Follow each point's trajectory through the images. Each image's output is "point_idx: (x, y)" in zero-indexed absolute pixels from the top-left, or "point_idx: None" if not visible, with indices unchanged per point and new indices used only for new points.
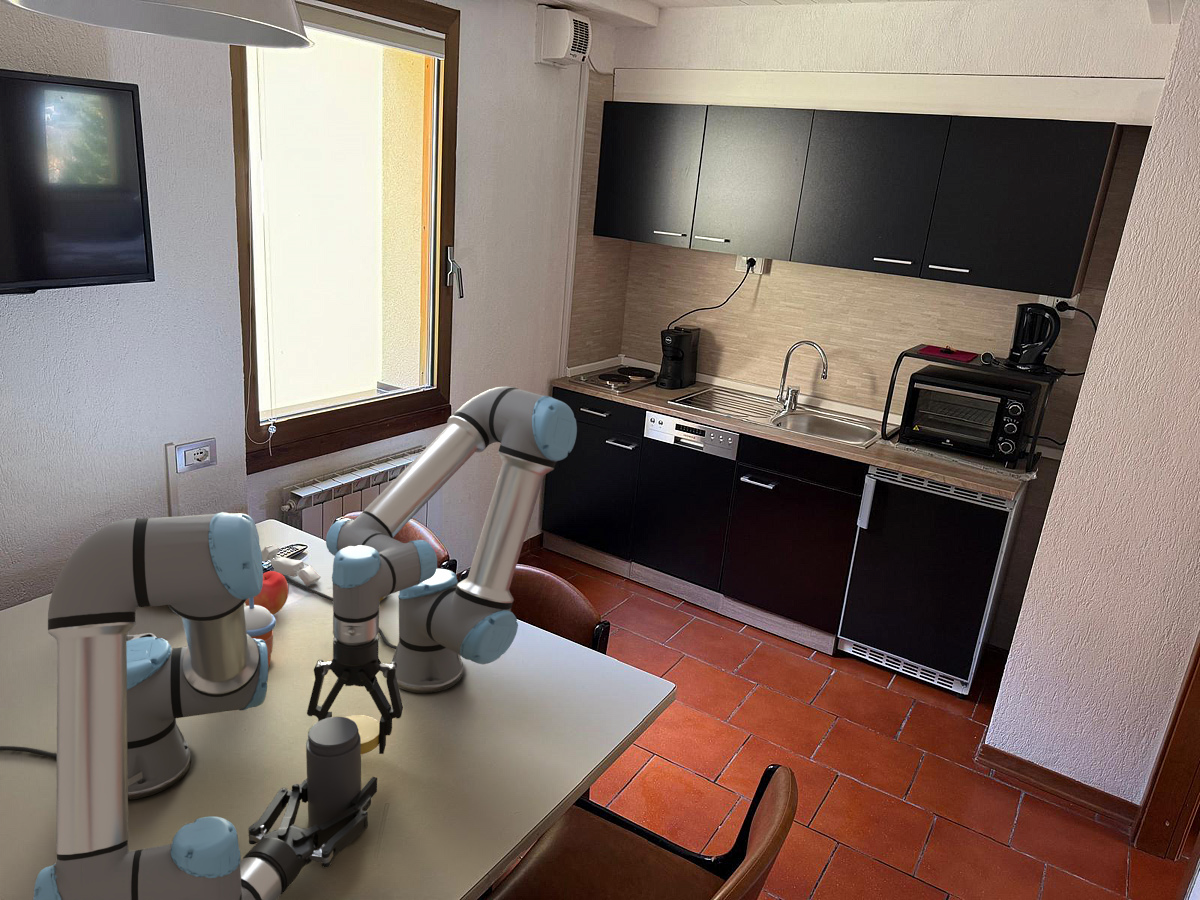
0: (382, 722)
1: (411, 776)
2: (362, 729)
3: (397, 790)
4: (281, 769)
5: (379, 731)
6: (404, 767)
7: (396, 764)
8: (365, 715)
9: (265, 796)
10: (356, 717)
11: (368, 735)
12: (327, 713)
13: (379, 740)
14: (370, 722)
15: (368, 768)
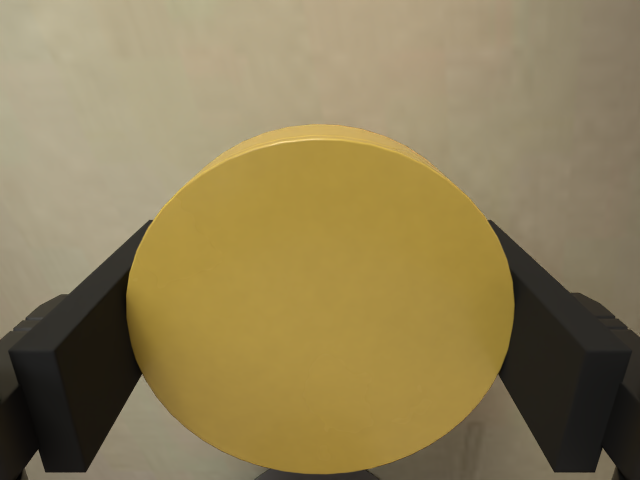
0: (580, 471)
1: None
2: (372, 330)
3: None
4: (6, 260)
5: (514, 400)
6: (548, 238)
7: (511, 219)
8: (369, 143)
9: None
10: (294, 178)
11: (425, 391)
12: (22, 375)
13: None
14: (425, 245)
15: None
